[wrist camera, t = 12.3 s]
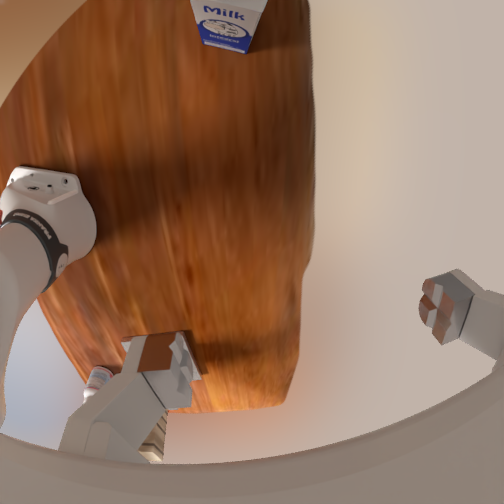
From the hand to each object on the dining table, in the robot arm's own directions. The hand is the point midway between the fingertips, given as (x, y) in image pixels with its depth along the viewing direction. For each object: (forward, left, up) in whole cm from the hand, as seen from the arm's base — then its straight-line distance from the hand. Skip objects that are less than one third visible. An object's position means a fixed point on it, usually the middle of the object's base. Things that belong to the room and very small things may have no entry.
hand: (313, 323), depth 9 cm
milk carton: (-11, +18, -37) cm, 43 cm away
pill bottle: (-10, -58, -37) cm, 70 cm away
